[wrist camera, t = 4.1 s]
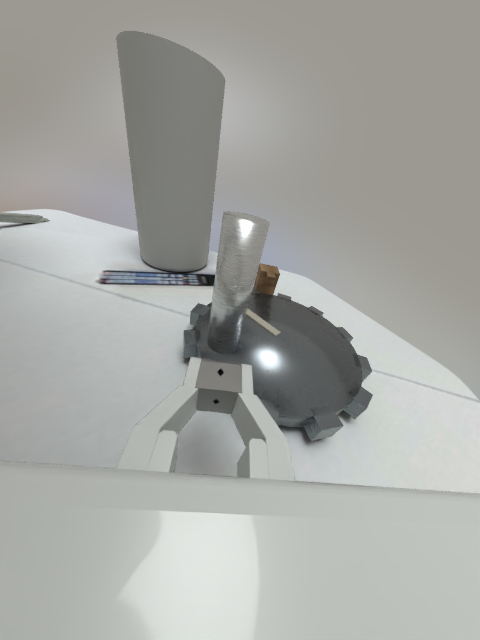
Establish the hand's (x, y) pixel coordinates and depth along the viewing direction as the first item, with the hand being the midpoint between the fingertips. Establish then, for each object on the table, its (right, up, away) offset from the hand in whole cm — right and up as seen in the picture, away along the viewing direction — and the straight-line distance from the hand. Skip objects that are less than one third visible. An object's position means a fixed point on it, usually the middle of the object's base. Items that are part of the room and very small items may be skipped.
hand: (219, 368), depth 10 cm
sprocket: (+5, -1, +13) cm, 14 cm away
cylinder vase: (-12, +14, +29) cm, 35 cm away
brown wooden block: (+5, +7, +24) cm, 25 cm away
